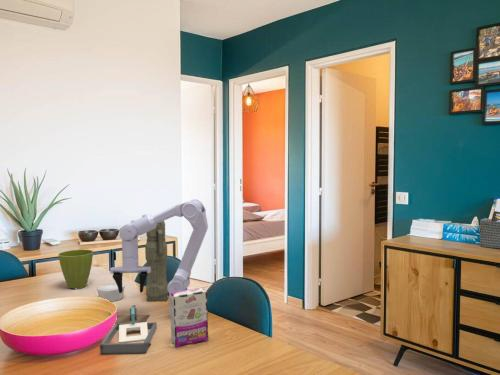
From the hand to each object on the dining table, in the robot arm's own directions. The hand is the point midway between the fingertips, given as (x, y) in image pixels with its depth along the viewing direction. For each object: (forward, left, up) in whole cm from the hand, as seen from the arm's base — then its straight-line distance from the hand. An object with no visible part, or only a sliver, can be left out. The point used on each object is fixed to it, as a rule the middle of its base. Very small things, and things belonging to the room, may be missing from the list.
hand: (131, 292), depth 159 cm
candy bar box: (-24, +23, -10) cm, 35 cm away
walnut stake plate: (0, +7, -9) cm, 12 cm away
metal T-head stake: (-2, +6, -8) cm, 11 cm away
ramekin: (+14, -22, -10) cm, 28 cm away
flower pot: (+35, -40, -10) cm, 54 cm away
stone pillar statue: (-6, -19, -10) cm, 22 cm away
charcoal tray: (-5, +23, -9) cm, 25 cm away
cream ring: (-5, +19, -7) cm, 21 cm away
